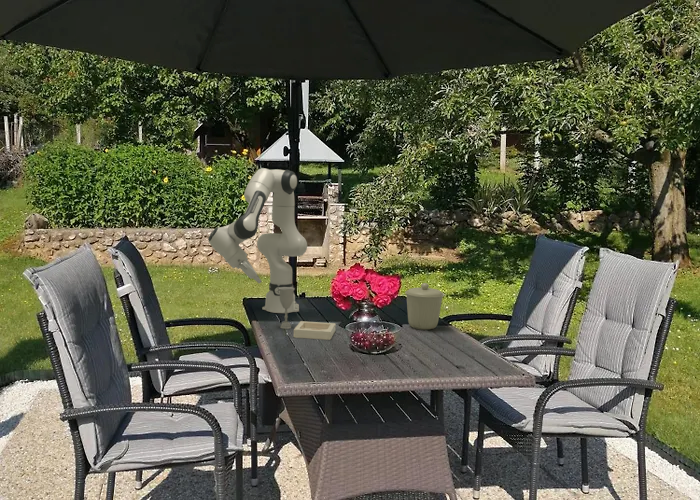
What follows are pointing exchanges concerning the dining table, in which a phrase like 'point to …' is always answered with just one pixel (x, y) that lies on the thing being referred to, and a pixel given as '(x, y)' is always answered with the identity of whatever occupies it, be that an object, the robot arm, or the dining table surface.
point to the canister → (423, 307)
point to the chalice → (286, 303)
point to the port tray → (314, 330)
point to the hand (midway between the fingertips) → (259, 280)
